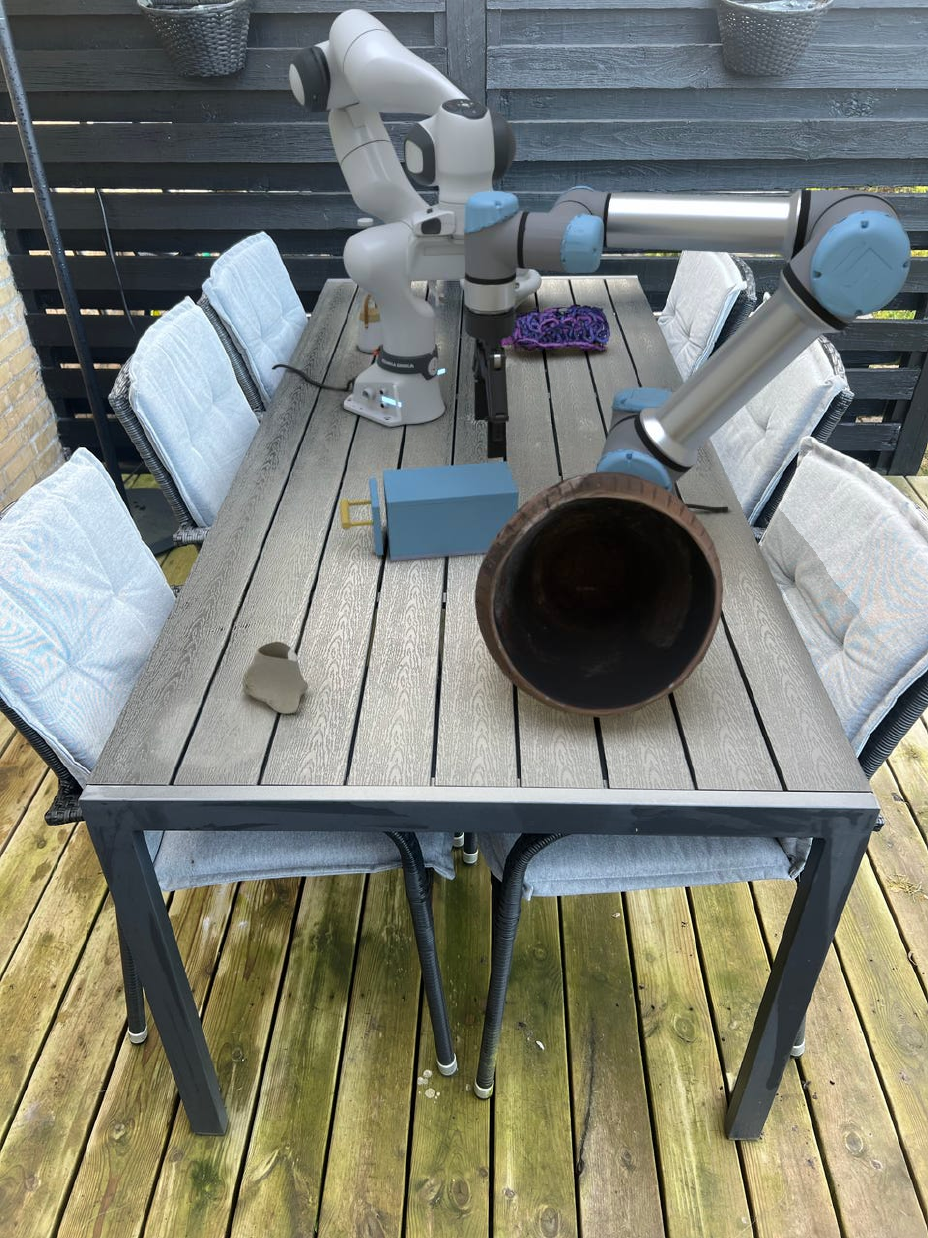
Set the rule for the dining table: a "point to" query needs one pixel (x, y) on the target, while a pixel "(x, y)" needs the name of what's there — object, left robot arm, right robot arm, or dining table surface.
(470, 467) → the blue open box
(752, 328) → the right robot arm
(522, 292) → the hat
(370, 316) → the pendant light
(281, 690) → the grey flared pouch
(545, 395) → the dining table surface
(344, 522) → the drawer
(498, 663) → the pot
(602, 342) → the purple fibrous block
